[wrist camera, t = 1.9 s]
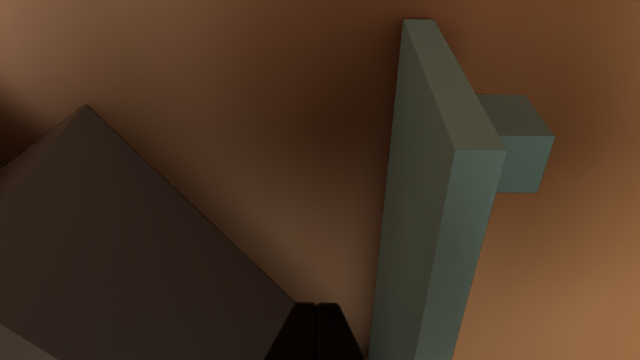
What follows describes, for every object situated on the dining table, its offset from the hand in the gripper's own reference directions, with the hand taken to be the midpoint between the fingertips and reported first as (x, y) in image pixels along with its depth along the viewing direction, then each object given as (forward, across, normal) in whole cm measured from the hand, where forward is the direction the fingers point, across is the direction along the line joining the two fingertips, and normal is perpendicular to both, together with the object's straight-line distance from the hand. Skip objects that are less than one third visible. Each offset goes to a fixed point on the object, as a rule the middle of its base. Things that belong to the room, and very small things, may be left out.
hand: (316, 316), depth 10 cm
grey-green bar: (+7, -3, +4) cm, 8 cm away
